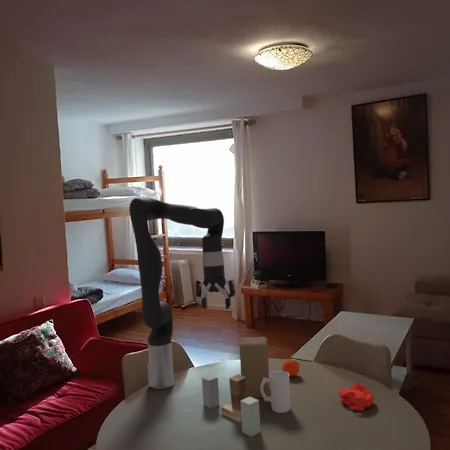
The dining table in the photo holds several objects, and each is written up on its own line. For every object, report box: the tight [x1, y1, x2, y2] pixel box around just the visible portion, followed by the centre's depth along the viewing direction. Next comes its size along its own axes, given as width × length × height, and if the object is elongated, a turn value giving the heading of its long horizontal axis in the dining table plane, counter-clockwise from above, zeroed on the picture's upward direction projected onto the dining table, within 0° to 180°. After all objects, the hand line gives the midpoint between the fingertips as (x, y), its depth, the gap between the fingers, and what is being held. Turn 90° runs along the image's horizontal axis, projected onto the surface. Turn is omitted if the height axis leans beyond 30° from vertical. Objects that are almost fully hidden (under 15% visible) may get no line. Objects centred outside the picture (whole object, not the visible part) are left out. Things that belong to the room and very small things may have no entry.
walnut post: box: [228, 374, 248, 411], centre depth 152 cm, size 4×4×10 cm
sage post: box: [241, 397, 261, 437], centre depth 140 cm, size 4×4×10 cm
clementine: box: [281, 358, 303, 378], centre depth 183 cm, size 8×7×7 cm
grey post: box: [201, 374, 220, 410], centre depth 161 cm, size 4×4×10 cm
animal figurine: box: [338, 382, 375, 412], centre depth 158 cm, size 12×15×5 cm
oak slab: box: [220, 402, 242, 423], centre depth 153 cm, size 9×9×3 cm
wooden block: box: [239, 336, 271, 399], centre depth 168 cm, size 10×10×20 cm
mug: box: [260, 370, 291, 414], centre depth 155 cm, size 10×7×12 cm, turn 82°
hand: (216, 308), depth 164 cm, fingers open, 8 cm apart
